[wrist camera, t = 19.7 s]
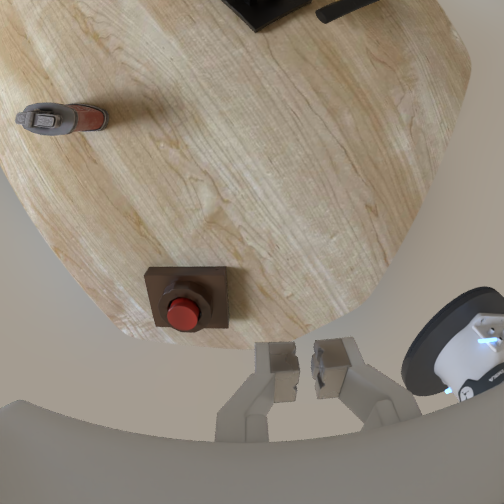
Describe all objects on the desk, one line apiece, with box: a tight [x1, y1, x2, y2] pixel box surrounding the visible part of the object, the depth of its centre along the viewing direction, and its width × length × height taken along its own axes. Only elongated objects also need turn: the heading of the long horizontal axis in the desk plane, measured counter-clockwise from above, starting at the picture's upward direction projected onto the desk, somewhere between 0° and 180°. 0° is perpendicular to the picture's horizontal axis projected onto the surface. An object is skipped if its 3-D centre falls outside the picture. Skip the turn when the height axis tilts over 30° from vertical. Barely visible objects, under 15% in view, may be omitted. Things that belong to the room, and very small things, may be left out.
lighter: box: [15, 103, 109, 136], centre depth 22 cm, size 8×3×10 cm, turn 72°
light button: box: [167, 298, 199, 330], centre depth 32 cm, size 4×4×2 cm
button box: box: [144, 267, 229, 332], centre depth 35 cm, size 10×8×4 cm
